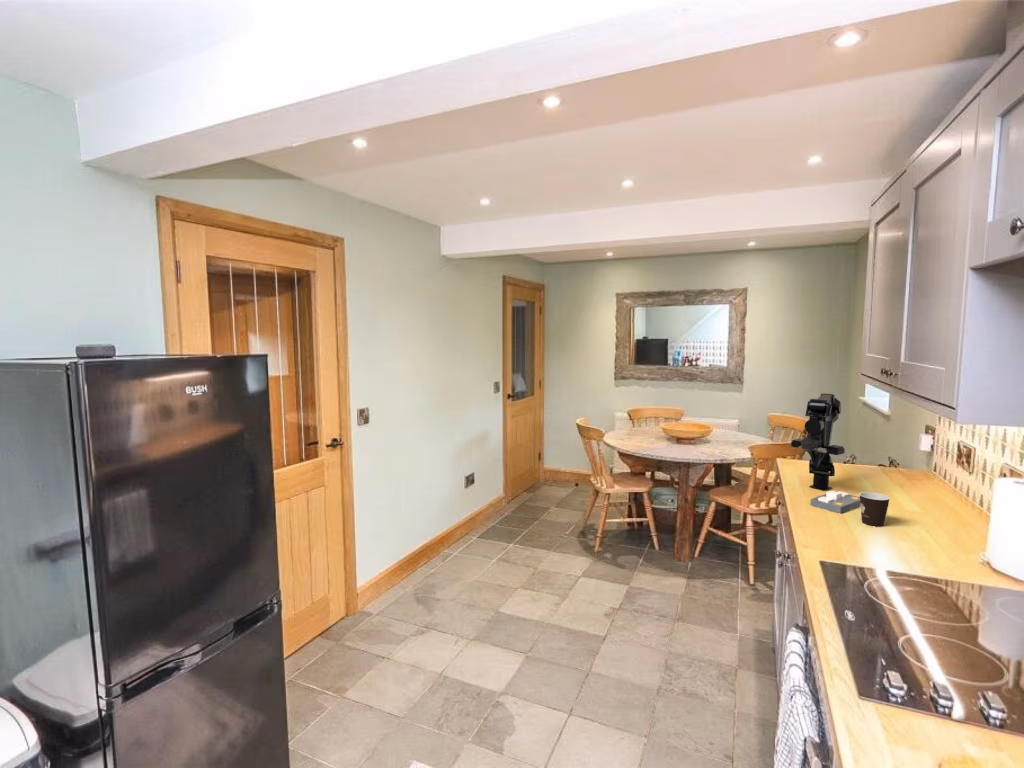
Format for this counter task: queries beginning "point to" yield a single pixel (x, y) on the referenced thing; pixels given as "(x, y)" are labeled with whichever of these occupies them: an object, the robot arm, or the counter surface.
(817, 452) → the robot arm
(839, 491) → the key
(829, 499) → the key
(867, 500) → the coffee mug
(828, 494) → the middle key
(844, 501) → the keyguard plate
